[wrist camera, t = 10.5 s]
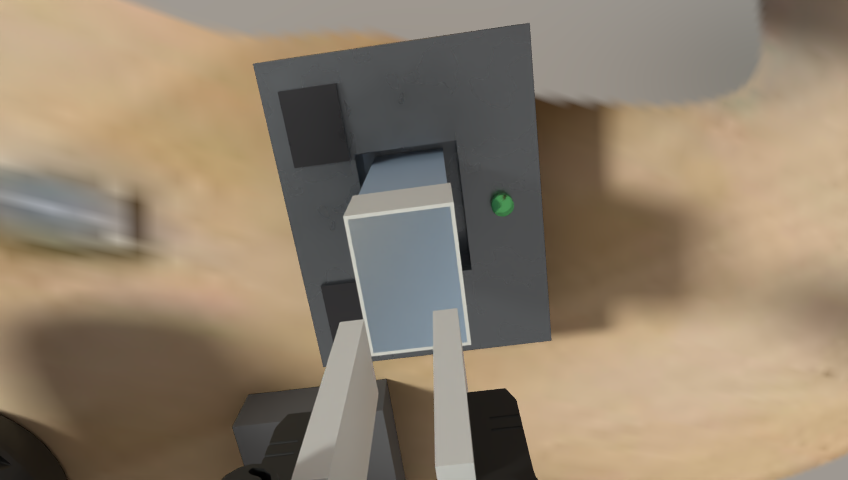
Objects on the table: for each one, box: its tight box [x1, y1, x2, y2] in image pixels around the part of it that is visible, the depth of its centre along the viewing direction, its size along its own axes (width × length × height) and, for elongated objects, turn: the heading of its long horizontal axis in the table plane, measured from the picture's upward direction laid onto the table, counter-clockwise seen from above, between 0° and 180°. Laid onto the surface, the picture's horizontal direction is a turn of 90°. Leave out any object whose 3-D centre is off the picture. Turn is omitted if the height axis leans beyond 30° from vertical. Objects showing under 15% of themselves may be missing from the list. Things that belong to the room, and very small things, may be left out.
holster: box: [232, 379, 406, 480], centre depth 40 cm, size 10×10×4 cm
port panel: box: [253, 23, 551, 367], centre depth 33 cm, size 14×18×5 cm
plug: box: [343, 147, 471, 356], centre depth 28 cm, size 4×6×12 cm
